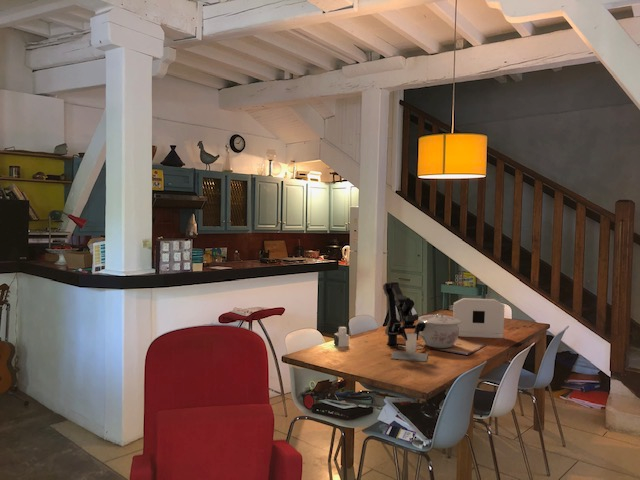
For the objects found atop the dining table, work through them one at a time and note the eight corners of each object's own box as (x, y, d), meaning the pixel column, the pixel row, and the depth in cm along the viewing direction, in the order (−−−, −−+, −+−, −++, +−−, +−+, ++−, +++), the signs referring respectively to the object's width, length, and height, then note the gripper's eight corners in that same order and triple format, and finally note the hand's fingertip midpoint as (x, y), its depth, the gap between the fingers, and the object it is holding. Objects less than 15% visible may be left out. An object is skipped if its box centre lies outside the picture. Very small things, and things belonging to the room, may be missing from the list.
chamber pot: (461, 342, 341) (462, 310, 340) (460, 353, 314) (462, 319, 313) (417, 338, 348) (418, 307, 347) (413, 349, 322) (414, 315, 321)
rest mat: (393, 351, 314) (393, 350, 314) (427, 354, 309) (427, 353, 309) (390, 359, 299) (390, 358, 299) (426, 362, 294) (426, 361, 294)
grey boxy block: (495, 330, 379) (496, 294, 377) (503, 338, 354) (504, 299, 353) (447, 328, 382) (449, 292, 380) (452, 336, 358) (454, 298, 356)
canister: (403, 350, 300) (404, 333, 299) (409, 349, 304) (409, 331, 304) (412, 353, 296) (412, 335, 295) (418, 351, 300) (418, 333, 299)
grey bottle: (333, 344, 329) (334, 325, 328) (344, 343, 331) (344, 325, 331) (338, 347, 322) (338, 328, 321) (348, 346, 325) (349, 327, 324)
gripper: (394, 309, 301) (399, 332, 291) (425, 308, 304) (431, 332, 294) (389, 320, 309) (394, 343, 299) (419, 319, 312) (426, 342, 302)
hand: (412, 340), depth 298 cm, fingers closed on canister, 6 cm apart
